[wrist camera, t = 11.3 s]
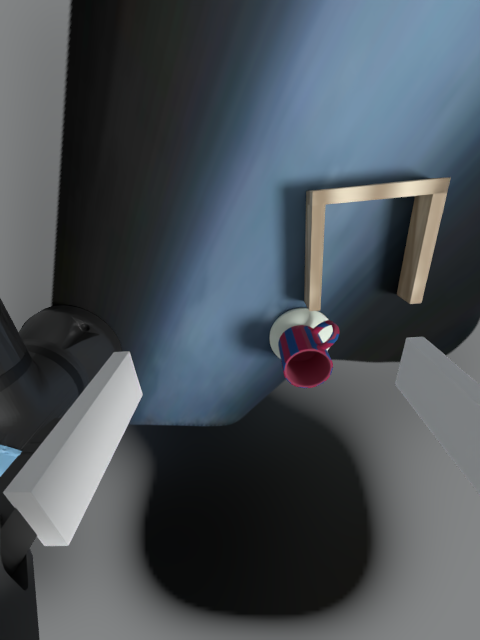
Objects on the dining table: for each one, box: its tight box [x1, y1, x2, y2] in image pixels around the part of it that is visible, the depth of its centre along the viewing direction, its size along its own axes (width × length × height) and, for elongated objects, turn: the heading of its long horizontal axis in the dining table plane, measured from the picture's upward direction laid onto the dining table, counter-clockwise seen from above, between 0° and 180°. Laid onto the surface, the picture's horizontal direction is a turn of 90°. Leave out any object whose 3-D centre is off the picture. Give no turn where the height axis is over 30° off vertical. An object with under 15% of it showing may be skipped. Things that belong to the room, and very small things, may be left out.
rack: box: [304, 178, 450, 311], centre depth 34 cm, size 15×15×4 cm
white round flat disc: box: [269, 308, 333, 359], centre depth 42 cm, size 10×10×1 cm
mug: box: [278, 320, 339, 388], centre depth 39 cm, size 7×10×7 cm
